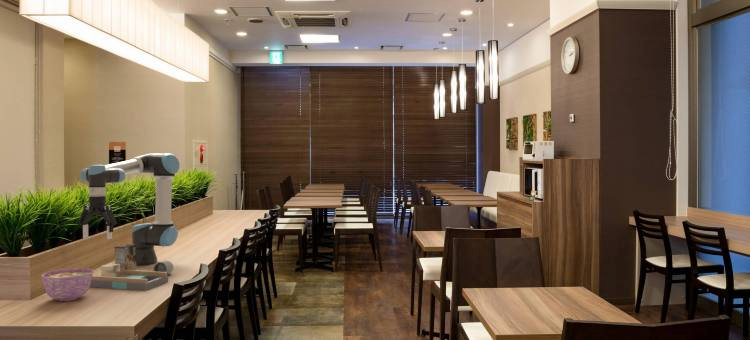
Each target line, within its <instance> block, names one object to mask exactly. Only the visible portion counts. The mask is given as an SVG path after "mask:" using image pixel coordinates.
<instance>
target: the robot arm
mask: <svg viewBox="0 0 750 340" xmlns="http://www.w3.org/2000/svg"><path fill="white" fill-rule="evenodd" d="M179 170H180V161H179V159H178V158H177V156H176V155H175V154H173V153H167V152H166V153H165V152H164V153H163V152H161V153H153V152H152V153H146V154H142V155H138V156H134V157H132V158H130V159H129V160H124V161H120V162H115V163H109V164H90V165H89V166H88V167H85V168H83V169H81V171H80V174H79V175H80V179H81V180H82V182H84V183H88V195H89V196H88V204H85V205H83V208H82V209H83V210H82V212H81V214H80V216H79V218H78V222H77V224H81V231H82V238H83V239H87V238H89V224H88V223H89V222H90V220H91V219H92V217H93V216H94V215H98V216H99V215H100V216H101V217H102V219H103V220H104V221H105V222H106V224H107V226H106V239H107V240H110V239H113V232H114V226H115V225H117V224H118V222H117V219H116V216H115V215H114V213H113V210H112V206H111V205H106V202H107V197H106V194H107V192H106V191H107V187H106V186H107V184H118V183H122V182H124V180H125V178H126V175H130V174H133V173H134V174H137V175H138V174H142V173H143V174H144V173H145V174H153V177H154V178H155V212H154V214H155V215H154V221H153V222H148V223H147V222H146V223H140V224H135V225H133V226H132V230H131V231H132V232H131V235H132V236H131V238H132V241H131V243H132V245H136V266H139V265H140V266H143V265H144V266H145V265H151V264H152V265H153V264H156V263H158V257H157V254H156V251H155V247H162V248H163V247H164V248H165V247H170V246H173V245H174V244H175V243H176V241H177V240H178V235H179V232H178V229H177V228H176V227H175V226H174V222H173V221H172V194H173V193H172V192H173V191H172V189H173V185H172V184H173V179H174V178H175V176H176V173H178V172H179Z"/></svg>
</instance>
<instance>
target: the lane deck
mask: <svg viewBox="0 0 750 340" xmlns="http://www.w3.org/2000/svg"><path fill="white" fill-rule="evenodd" d="M168 282H169V275H168V274H167V272H156V271H153V270H140V269H139V270H138V269H136V270H122V269H120V276H118V277H108V276H101V275H92V279H91V283H90V287H89V288H100V289H115V290H117V289H118V290H131V291H147V290H150V289H153V288H156V287H159V286H161V285H163V284H165V283H168Z"/></svg>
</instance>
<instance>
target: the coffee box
mask: <svg viewBox="0 0 750 340" xmlns="http://www.w3.org/2000/svg"><path fill="white" fill-rule="evenodd" d="M114 264H120V269H122V270H137V265H136V245H133V244H129V243H128V244H126V243H125V244H121V245H118V246H114Z"/></svg>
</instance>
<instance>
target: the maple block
mask: <svg viewBox="0 0 750 340" xmlns="http://www.w3.org/2000/svg"><path fill="white" fill-rule="evenodd" d="M100 276H108V277H118V276H120V264H115V263H107V264H103V265H101V266H100Z"/></svg>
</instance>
